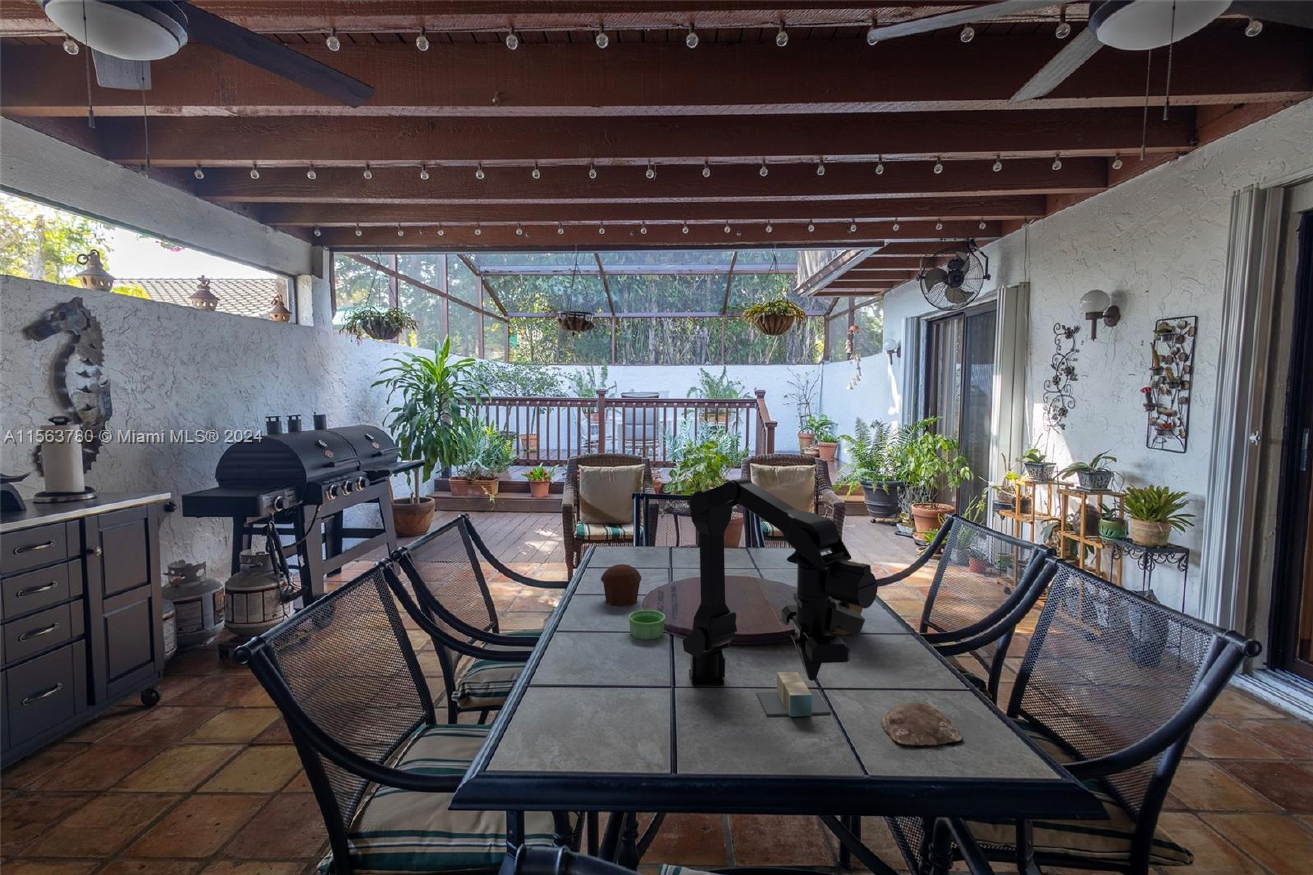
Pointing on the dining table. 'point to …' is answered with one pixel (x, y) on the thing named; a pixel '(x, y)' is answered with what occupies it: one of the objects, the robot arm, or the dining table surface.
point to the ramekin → (646, 624)
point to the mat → (776, 707)
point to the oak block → (794, 694)
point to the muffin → (621, 585)
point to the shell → (920, 726)
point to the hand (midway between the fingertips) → (811, 679)
